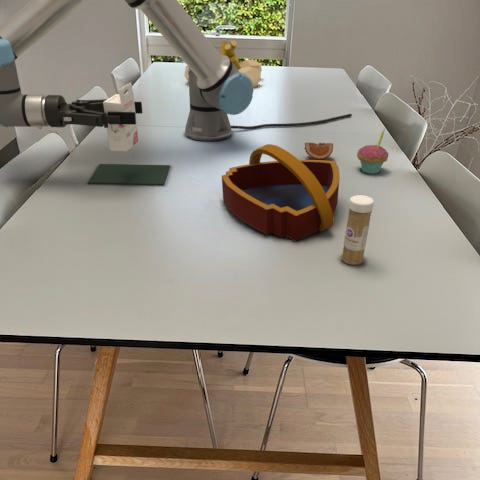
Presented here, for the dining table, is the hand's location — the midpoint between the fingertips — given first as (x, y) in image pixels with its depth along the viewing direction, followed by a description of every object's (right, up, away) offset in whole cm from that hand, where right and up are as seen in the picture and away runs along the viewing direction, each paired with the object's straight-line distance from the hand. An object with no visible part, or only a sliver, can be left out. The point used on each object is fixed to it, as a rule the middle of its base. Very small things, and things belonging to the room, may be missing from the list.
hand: (138, 112), depth 133 cm
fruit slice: (+48, -4, +27) cm, 55 cm away
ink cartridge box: (-5, -7, +5) cm, 10 cm away
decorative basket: (+36, -25, -2) cm, 43 cm away
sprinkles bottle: (+48, -39, -23) cm, 66 cm away
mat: (-5, -12, +14) cm, 19 cm away
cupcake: (+62, -9, +19) cm, 66 cm away
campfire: (+18, +55, +107) cm, 122 cm away
